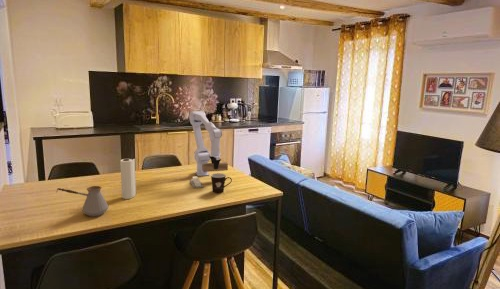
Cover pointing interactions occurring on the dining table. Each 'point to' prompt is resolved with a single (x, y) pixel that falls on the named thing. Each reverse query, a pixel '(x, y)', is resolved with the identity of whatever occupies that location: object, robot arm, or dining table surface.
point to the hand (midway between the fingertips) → (215, 168)
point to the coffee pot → (92, 201)
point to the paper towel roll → (128, 178)
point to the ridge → (196, 183)
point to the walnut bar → (210, 167)
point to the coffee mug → (218, 182)
